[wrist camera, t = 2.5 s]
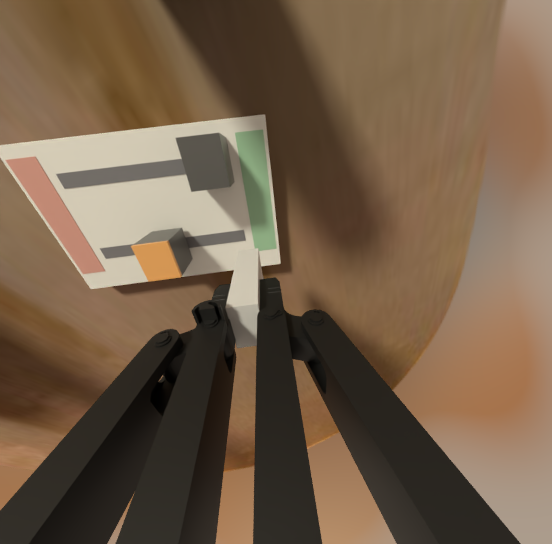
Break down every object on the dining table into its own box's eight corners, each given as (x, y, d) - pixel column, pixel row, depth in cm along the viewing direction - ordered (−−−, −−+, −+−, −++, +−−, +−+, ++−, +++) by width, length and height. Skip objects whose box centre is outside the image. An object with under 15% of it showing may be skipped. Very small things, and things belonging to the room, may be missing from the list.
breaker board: (102, 280, 25) (63, 311, 20) (18, 147, 18) (-76, 143, 13) (279, 256, 25) (284, 281, 20) (264, 118, 18) (267, 103, 13)
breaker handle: (165, 262, 22) (148, 281, 18) (151, 231, 20) (130, 246, 17) (192, 258, 22) (181, 277, 19) (181, 227, 20) (166, 241, 17)
